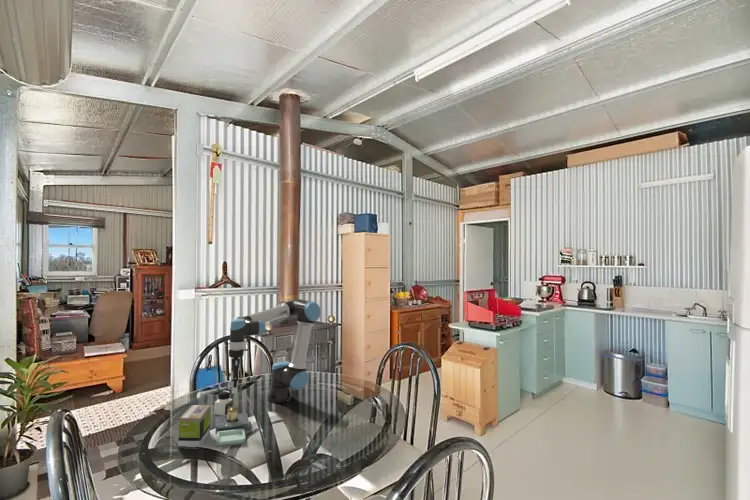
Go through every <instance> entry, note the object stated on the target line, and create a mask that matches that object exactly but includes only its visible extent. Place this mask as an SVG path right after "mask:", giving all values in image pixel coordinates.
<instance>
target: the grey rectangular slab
mask: <svg viewBox="0 0 750 500" xmlns="http://www.w3.org/2000/svg"><path fill="white" fill-rule="evenodd" d="M227 416H228V414H227V415H216V416H215V435H216V434H217V432H218V431H226V430H235V429H243V428H244V431H245V432H249V427H250V422H249V421H250V420H249V417H248V416H249V415H248V412H240V413H238V415H237V421H236V422H227Z"/></svg>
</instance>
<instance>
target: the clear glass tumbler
mask: <svg viewBox="0 0 750 500" xmlns="http://www.w3.org/2000/svg"><path fill="white" fill-rule="evenodd" d="M238 411H239V406H235V405H234V406H233V405H232V406H231V407H229V408H228V414H227V415H228V416H227V422H236V421H237V415H238V414H239V413H238Z"/></svg>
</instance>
